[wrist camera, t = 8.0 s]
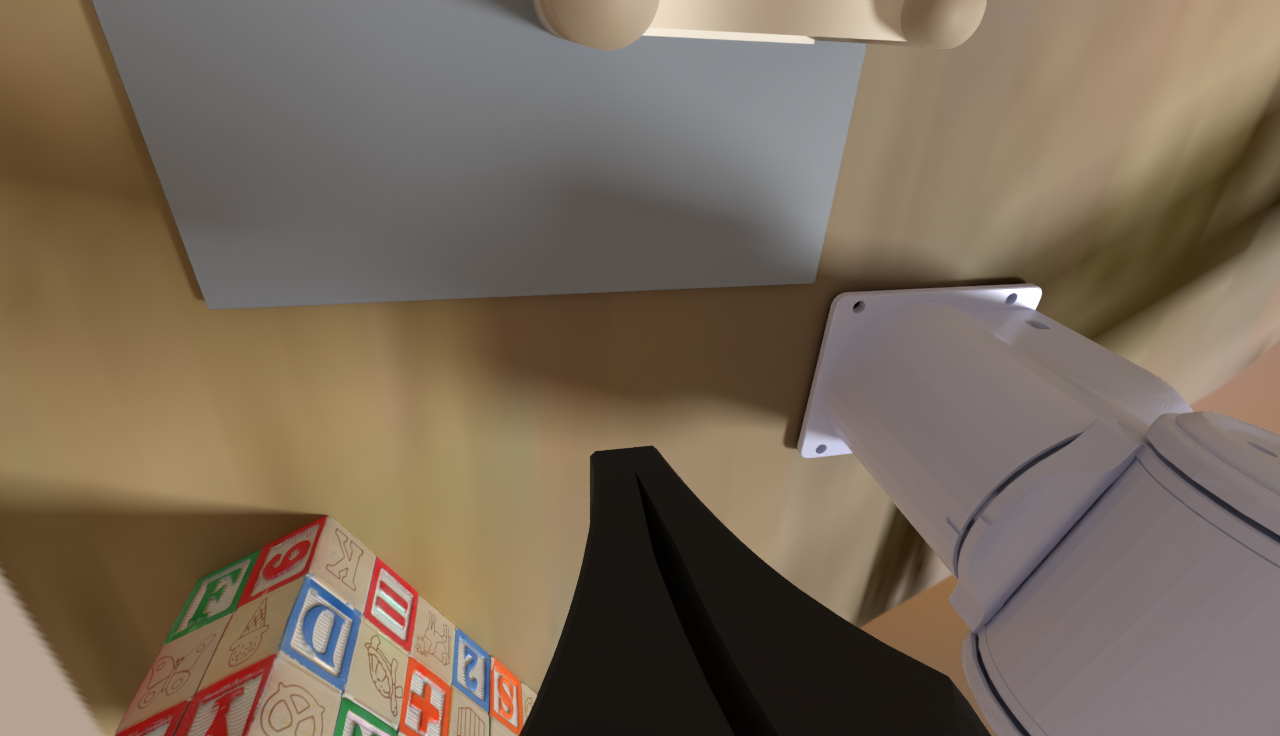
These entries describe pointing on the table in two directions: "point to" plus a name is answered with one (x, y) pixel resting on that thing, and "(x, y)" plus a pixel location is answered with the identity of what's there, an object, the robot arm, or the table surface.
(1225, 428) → the robot arm
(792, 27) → the fence frame
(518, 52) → the card
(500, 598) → the table surface
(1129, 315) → the table surface
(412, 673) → the stack of blocks
